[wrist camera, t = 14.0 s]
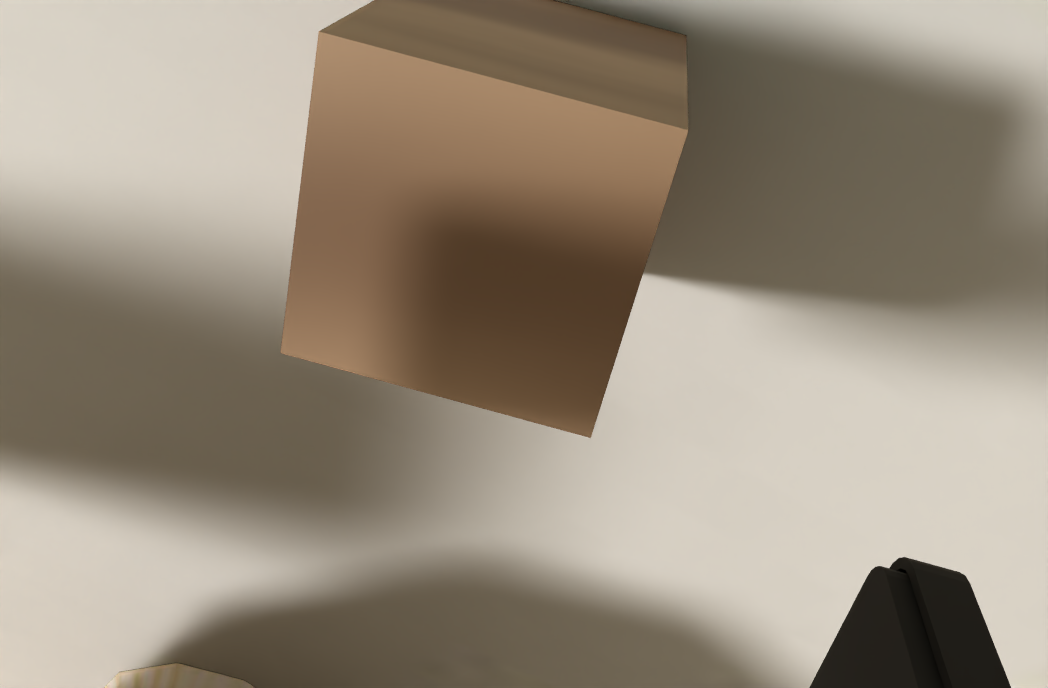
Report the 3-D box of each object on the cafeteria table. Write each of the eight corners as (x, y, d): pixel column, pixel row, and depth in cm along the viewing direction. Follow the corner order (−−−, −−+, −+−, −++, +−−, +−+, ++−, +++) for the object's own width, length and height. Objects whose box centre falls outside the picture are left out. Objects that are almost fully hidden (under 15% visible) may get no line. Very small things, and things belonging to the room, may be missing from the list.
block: (433, -33, 17) (319, 31, 11) (686, 34, 17) (688, 130, 11) (391, 207, 19) (280, 352, 14) (616, 267, 19) (590, 437, 14)
